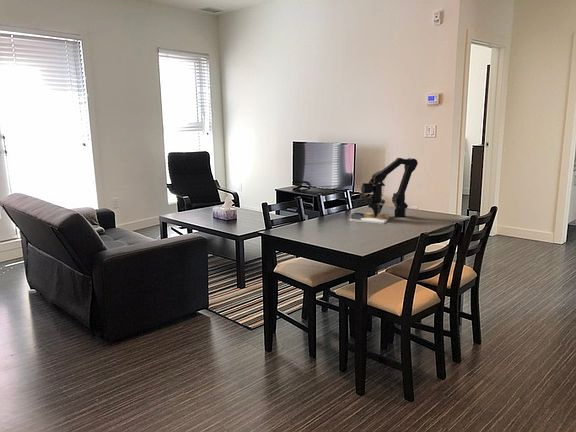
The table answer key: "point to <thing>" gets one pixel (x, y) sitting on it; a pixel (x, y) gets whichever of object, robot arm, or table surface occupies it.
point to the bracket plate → (366, 219)
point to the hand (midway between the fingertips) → (376, 216)
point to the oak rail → (379, 216)
